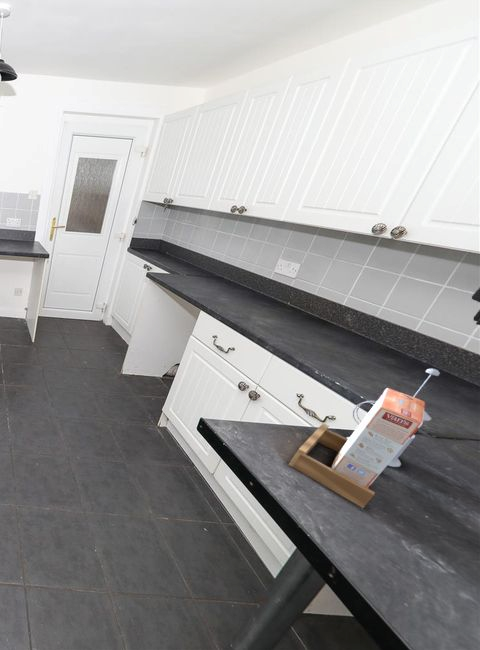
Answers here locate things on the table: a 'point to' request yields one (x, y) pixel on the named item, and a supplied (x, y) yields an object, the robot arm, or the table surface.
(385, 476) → the table surface
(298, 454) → the rack
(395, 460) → the french press
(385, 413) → the cracker box
